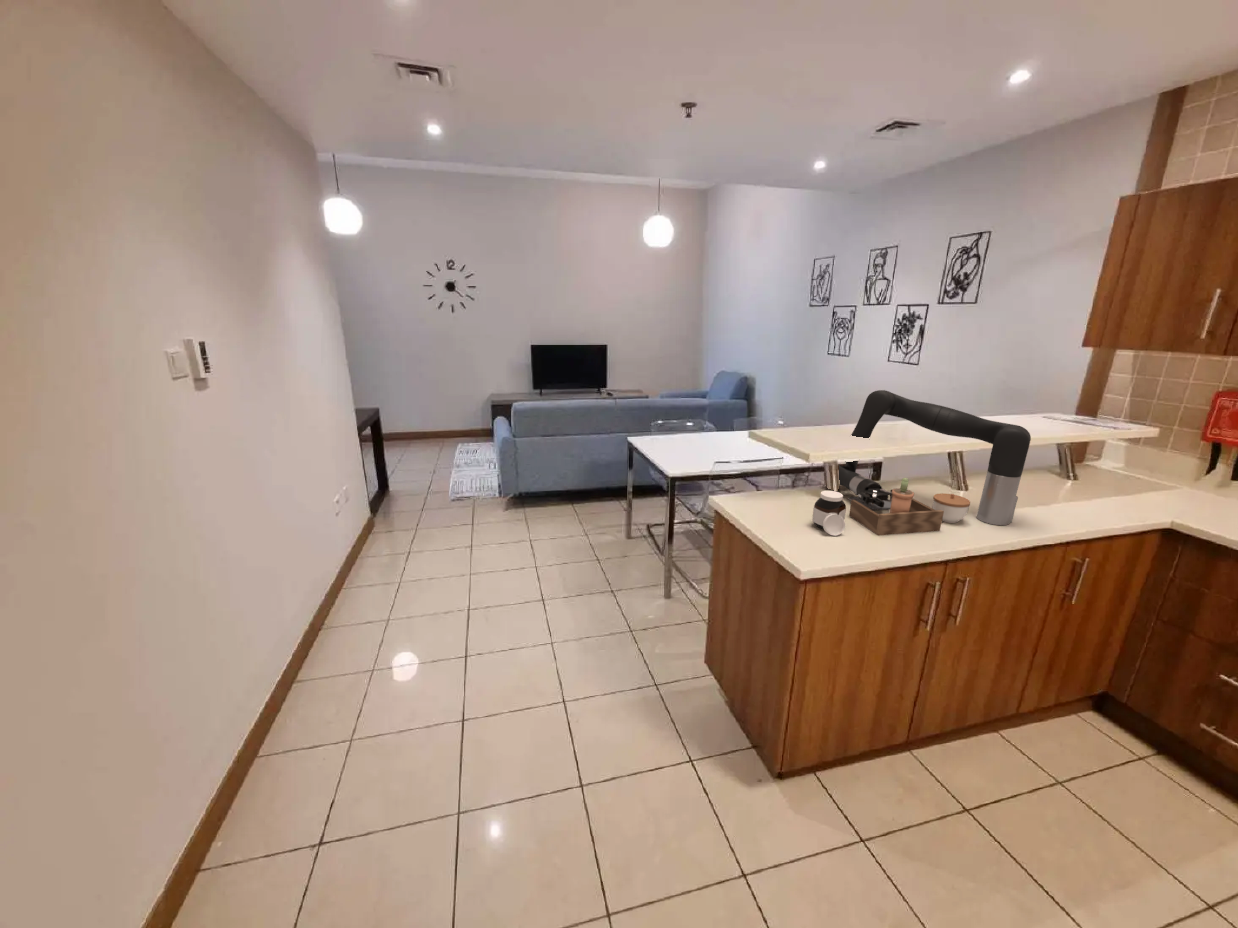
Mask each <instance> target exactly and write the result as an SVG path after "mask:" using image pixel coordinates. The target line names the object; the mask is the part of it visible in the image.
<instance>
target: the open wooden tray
mask: <svg viewBox="0 0 1238 928" xmlns="http://www.w3.org/2000/svg"><path fill="white" fill-rule="evenodd" d="M943 514H944V511H942V510H934V509H933V507H930V506H928V505H926V504H924V503H923V502H920V501H918V500H917V499H914V497H913V498H912V500H911V505H910V510H909V512H901V513H890V512H888V513H877V512H875V511H872V510H871V509H869V508H867V507H866V506H864V505H862V504H861V503H859V502H857V501H856V500H850V507H849V514H848V516H849V517H850V518H851V519H854V521H856V522H858V524H861V525H862V526H863V527H865V528H867V529H868V530H870V531H871V532H872V533H874V534H875V535H876V536H884V535H885V536H889V535H901V534H914V533H917V534H918V533H926V532H927V533H928V532H929V533H930V532H940V531H941V526H942V522H943V521H942V518H943Z"/></svg>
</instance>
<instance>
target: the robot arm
mask: <svg viewBox="0 0 1238 928" xmlns="http://www.w3.org/2000/svg"><path fill="white" fill-rule="evenodd" d="M865 399H866V400H865V403H864V405H863V407H862V408H863V409H862V412H861V414H860V416H859V418H858V421H857V423H856V425H855V427H854V429H853V431H852V433H851V434H850V436H851V435H852V436H856V437H863V438H869V437H870V438H871V435H872V433H873V431H874V429H875V428H876V426H877V424H878V422H879V421H880V420H881V419H882V417H883V416H885V415H886V416H889V417H890V416H891V417H896V418H900V419H903V420H906V421H909V422H911V423H912V424H915V425H917V426H918V427H922V428H924V429H927V430H928V431H932V432H935V433H939V434H942V435H946V436H951V437H960V438H969V439H975V440H979V441H982V442H984V443H988V444H991V445H992V448H991V451H990V455H989V461H988V466H987V471H986V476H985V478H984V479H985V480H984V484H983V488H982V493H981V496H980V500H979V504H978V509H977V513H976V518H977V520H979V521H980V522H981V521H982V522H983V523H987V524H990V525H994V526H996V525H997V526H1007V525H1009V524H1010V523H1013V519H1014V514H1015V511H1016V507H1017V503H1018V499H1019V497H1018V496H1017V493H1018V490H1019V486H1020V483H1021V482H1020V481H1021V478H1022V474H1023V471H1024V467H1025V463H1026V459H1027V456H1028V451H1029V449H1030V444H1031V441H1032V438H1031V437H1032V436H1031V433H1030V432H1029V431H1028V429H1026V428H1025V427H1023V426H1020V425H1018V424H1013V423H1007V422H1006V423H1005V422H1000V421H996V420H989V419H985V418H983V417H979V416H976V415H975V414H970V413H967V412H964V411H961V410H959V409H956V408H955V409H954V408H951V407H948V406H944V405H940V404H935V403H932V402H931V403H929V402H924V401H917V400H912V399H910V398H907V397H904V396H901V395H898V394H896V393H893V392H891V391H888V390H886V389H882V390H881V389H879V390H877V389H876V390H875V391H872V392H871V393H869V394H868V396H867V397H866V398H865ZM858 464H859V461H853V462H846V461H845V465H841V464H838V465H839V480H840V486H842V487H844V488H846V489H847V490H849V491H851V492H852V493H853V494H854V495H856V496H857V497H858V498H859V499H860V500H862V501H863V502H865V503H866V504H869V503H871V504H876V505H877V506H879V507H881V508H883V507H884V501H887V502H892V496H893V495H892V490H893V489H890V491H889V490H886V489H883V487H882V485H881V484H880V483H879V482H877V481H875V480H873V479H871V478H869V477H867V476H864V475H862V474H860V473H858V472H857V467H858Z"/></svg>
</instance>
